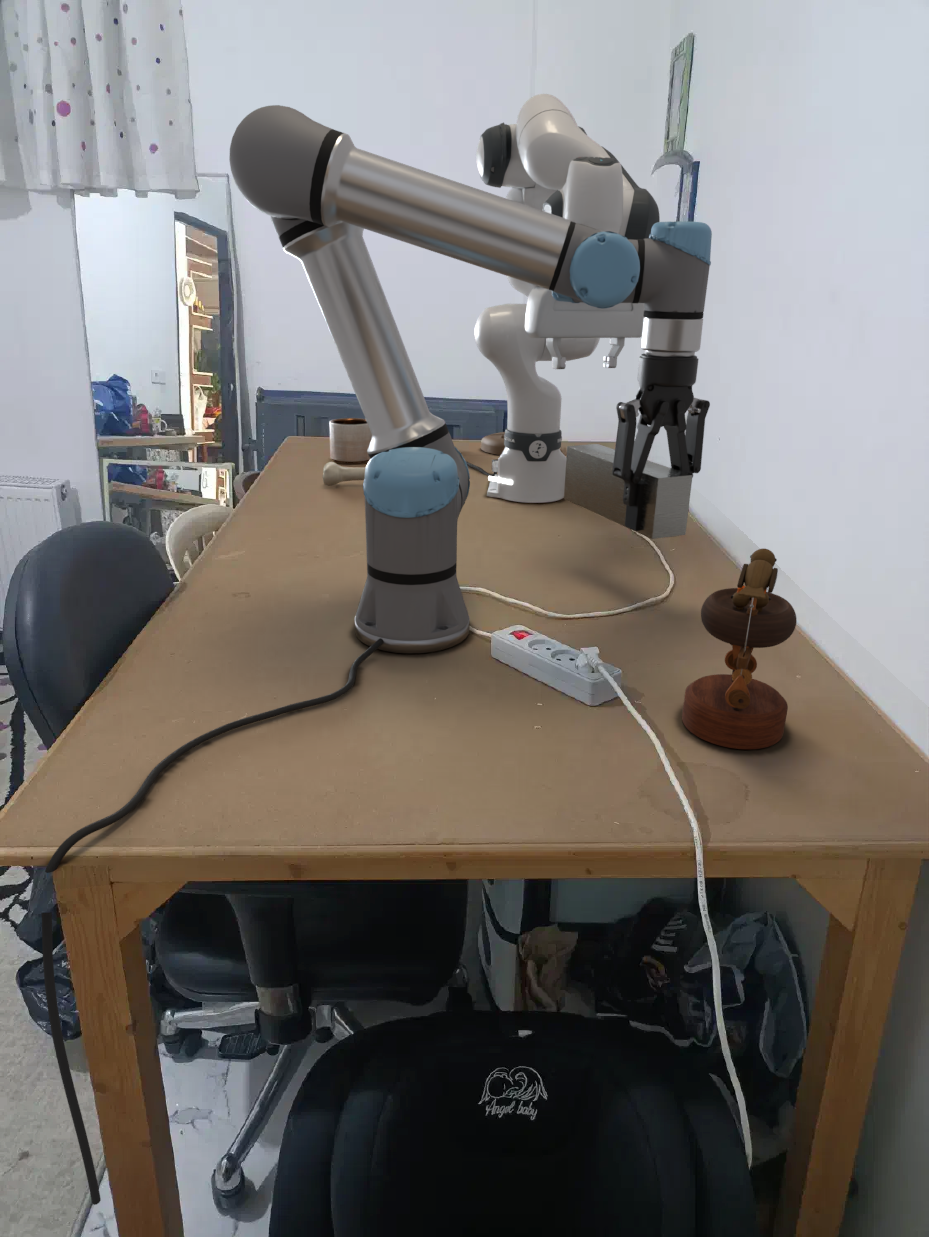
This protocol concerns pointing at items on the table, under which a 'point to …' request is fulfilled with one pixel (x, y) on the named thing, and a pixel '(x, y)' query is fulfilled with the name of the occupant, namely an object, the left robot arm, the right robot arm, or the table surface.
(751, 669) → the music box
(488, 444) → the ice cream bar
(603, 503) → the bar
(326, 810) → the table surface
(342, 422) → the planter
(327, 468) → the dog toy
